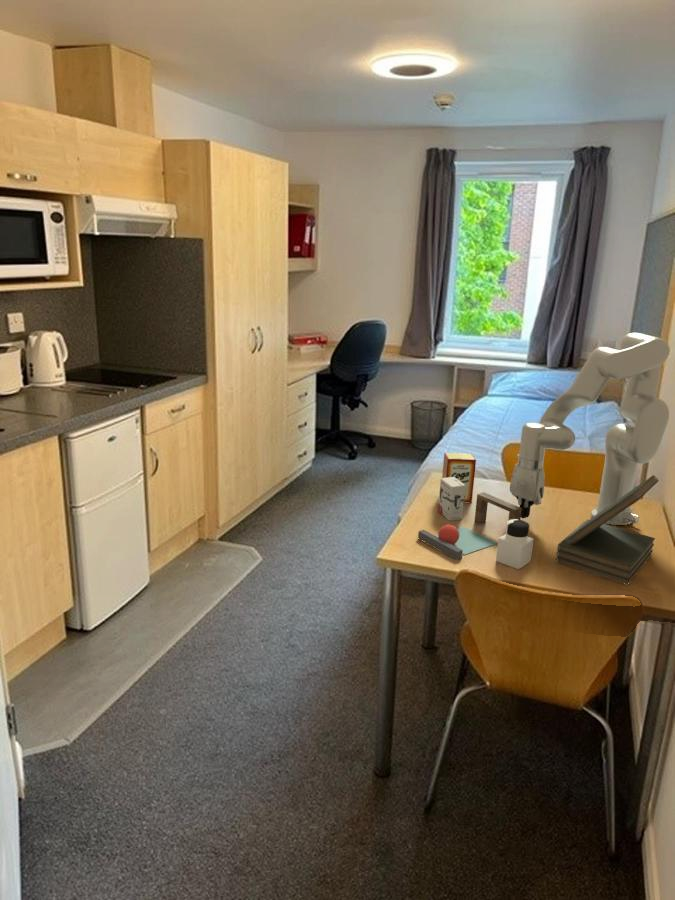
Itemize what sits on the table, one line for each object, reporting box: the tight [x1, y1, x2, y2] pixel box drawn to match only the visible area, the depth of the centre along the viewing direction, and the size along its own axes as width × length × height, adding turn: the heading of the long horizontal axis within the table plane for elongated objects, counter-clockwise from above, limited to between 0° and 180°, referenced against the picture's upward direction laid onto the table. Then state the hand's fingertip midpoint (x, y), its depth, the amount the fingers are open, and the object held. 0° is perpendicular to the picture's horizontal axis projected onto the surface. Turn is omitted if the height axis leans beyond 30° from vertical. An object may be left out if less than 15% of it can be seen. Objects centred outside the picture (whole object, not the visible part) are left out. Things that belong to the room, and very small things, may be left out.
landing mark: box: [435, 526, 498, 556], centre depth 193 cm, size 14×14×1 cm
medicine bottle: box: [495, 519, 534, 570], centre depth 179 cm, size 7×7×12 cm
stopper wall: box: [417, 529, 463, 560], centre depth 187 cm, size 16×2×2 cm, turn 35°
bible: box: [554, 475, 659, 585], centre depth 180 cm, size 23×20×25 cm
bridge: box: [473, 492, 522, 526], centre depth 199 cm, size 3×15×10 cm, turn 35°
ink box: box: [437, 477, 465, 521], centre depth 209 cm, size 9×5×12 cm, turn 18°
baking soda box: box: [441, 452, 477, 504], centre depth 222 cm, size 10×6×16 cm
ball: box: [437, 524, 459, 545], centre depth 189 cm, size 6×6×6 cm
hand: (523, 516), depth 207 cm, fingers closed
